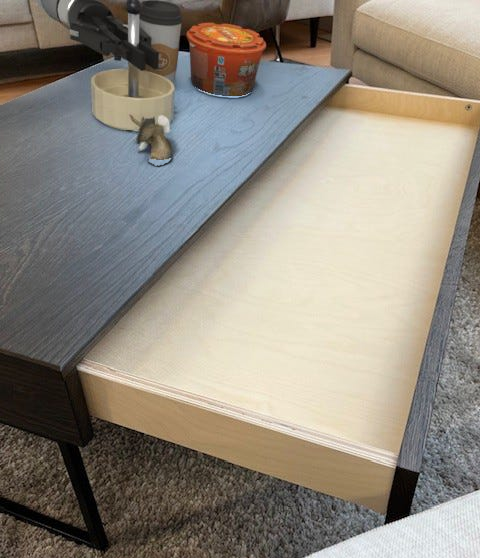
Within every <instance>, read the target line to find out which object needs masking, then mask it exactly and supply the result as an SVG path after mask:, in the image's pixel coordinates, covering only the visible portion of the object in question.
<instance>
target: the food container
mask: <svg viewBox="0 0 480 558" xmlns="http://www.w3.org/2000/svg"><path fill="white" fill-rule="evenodd" d="M186 39H187V41H188V42H189V43H188V45H189V47H188V48H189V62H190V66H189V67H190V81H191V85H192V87H194V88H195V87H196V88H198V89H200V90H202V91H205V92H208V93H211V94H215V95H222V96H242V95H246V94H248V93H250V92H251V91H252V92H253V90H254V86H255V81H256V78H257V75H258V70H259V67H260V63H261V58H262V54H263V52H264V51H265V50H266V48H267V43H266V41H265V40H264V38H263V37H261V36H260V34H259V32H256V31H254V30H252V29H250V28H243V27H242V26H239V25H236V24H230V23H222V24H220V23H219V24H217V23H214V22H202V23H201V22H200V23H198V24H197V25H193V26H191V28H189V30H187V31H186ZM196 88H195V89H196Z"/></svg>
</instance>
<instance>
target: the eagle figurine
mask: <svg viewBox="0 0 480 558" xmlns="http://www.w3.org/2000/svg"><path fill="white" fill-rule="evenodd" d="M129 117H130V118H131V120H132V121H133V122H134V123H135V124H136V125H138V126H139V127H140V128H139V130H138V131H137V135H136V138H135V140H136V145H139V144H140V145H139V147H138V150H139V149H144V150H146V148H147V147H148V146H149V145H150V146H151V149H150V154H149V156H148V158H150V159H156V160H164V159H169V158H172V157H174V152H173V145H172V142H171V141H170V140H169V138H167V137H166V135H165V134H169V133H170V131H171V122H170V123H169V120H168V119H167V117H165V116H163V115H159V116H158V119H157V124H156V125H155V119H154V117H153V118H150V119H148V118H146V119H145V118H144V117H142V119H141V123H140V122H138V121H137V120H136V119H134V117H133V116H132V115H129ZM172 159H173V158H172Z"/></svg>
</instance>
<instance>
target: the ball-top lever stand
mask: <svg viewBox="0 0 480 558" xmlns="http://www.w3.org/2000/svg"><path fill="white" fill-rule="evenodd" d="M141 2H142V1H140V0H126V1H125V6H124V7H125V11H126V12H127V25H128V42H129V43H131V44H132V45H134V46H135V47H137V48H138V49H139V13H140V12H141V10H142V5H141ZM127 64H128V65H127V69H128V95H123V96H125V97H133V98H145V97H142V96H139V69H138V68H137V67H135V66H134V65H132V64H131V63H130V62H128V61H127Z"/></svg>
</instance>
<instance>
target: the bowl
mask: <svg viewBox="0 0 480 558" xmlns="http://www.w3.org/2000/svg"><path fill="white" fill-rule="evenodd" d="M175 91H176V89H175V84H173V83H172V82H171V81H170V80H169V79H167V78H165V77H163V76H161V75H158V74H155V73H152V72H148V71H141V70H139V96H142V97H145V98H133V97H125V96H123V95H128V68H113V69H112V68H111V69H106V70H102V71H99V72H97V73H94V75H92V76H91V78H90V94H91V113H92V115H93V116H94V117H95V118H96V119H97V120H98V121H100V122H101V123H102V124H104V125H106V126H108V127H111V128H113V129H117V130H122V131H126V130H139V128H140V127H139V126H138V125H136V124H135V123H134V122H133V121H132V120H131V118H130V117H129V115H132V116H133V117H134V119H136V120H137V121H138V122H140V123H141V119H142V117H144V118H145V119H146V118H148V119H150V118H153V117H154V119H155V125H156V124H157V119H158V116H159V115H163V116H165V117H167V119H168V120H169V123H170V124H171V122H172V121H173V119H174V111H175Z"/></svg>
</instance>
